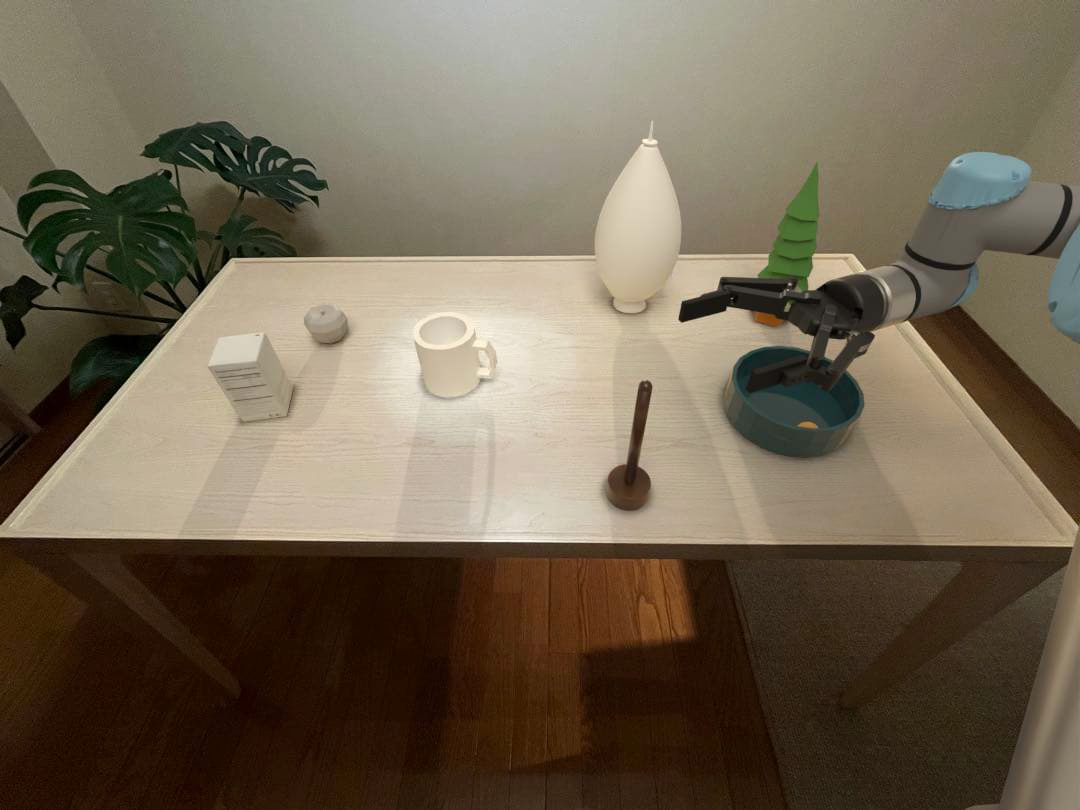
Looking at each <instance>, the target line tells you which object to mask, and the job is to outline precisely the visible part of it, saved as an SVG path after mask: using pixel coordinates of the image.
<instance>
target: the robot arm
mask: <svg viewBox="0 0 1080 810" xmlns="http://www.w3.org/2000/svg"><path fill="white" fill-rule="evenodd" d="M1031 176H1032V168H1031V167H1030V165H1029V164H1028V163H1027V162H1025V161H1024V160H1021V159H1019V158H1018V157H1014V156H1011V155H1004V154H1000V153H996V152H990V151H973V152H967V153H964V154H961V155H959V156H957V157H955V158H954V159H952V161H951V162H950V163H949V164H948V166H947V167H946V169H945V170H944V172H943V173H942V174H941V177H940V178H939V180H938V181H937V183H936V185H935V187H934V188H933V190H931V192H930V194H929V196H928V200H927V201H926V204H925V205H924V208H923V210H922V212H921V214H920V215H919V218H918V220H917V222H916V224H915V226H914V228H913V230H912V232H911V234H910V236H909V238H908V240H907V242H906V244H905V246H903V249H902V250H901V253H900V254H899V257H898V259H897V260H896V261H895V262H893V263H890V264H887V265H882V266H879V267H875V268H871V269H866V270H863V271H858V272H856V273H853V274H848V275H845V276H841V277H836V278H833V279H832V278H831V279H830V280H827V281H825V283H823V284H821V285H820V286H818V287H817V288H815V289H812V290H811V289H808V290H801V289H800V288H799V287H798V286H797V283H798V278H796V277H786V278H780V279H774V278H758V277H743V276H741V277H740V276H721V277H720V278H719V281H718V286H717V289H716V290H712V291H710V292H707V293H706V292H705V293H702V294H701V295H700V296H697V297H693V298H689V299H685V300H681V304H680V308H679V313H678V321H679V322H680V323H681V324H683V323H686V322H690V321H694V320H697V319H702V318H705V317H710V316H713V315H717V314H721V313H726V312H727V308H733V309H739V310H745V311H750V312H754V313H755V312H761V313H767V314H773V315H775V317H776V318H777V319H782V320H785V321H787V322H789V323H790V324H791V325H793V326H795V327H797V328H798V330H799V331H800V332H801V333H802V334H804V335H808V336H811V337H812V341H811V345H810V350H809V351H810V354H809V357H808V359H807V358H806V357H805V356H804V355H801V356H798V357H794V358H791V359H788V360H784V361H781V362H778V363H774V364H771V365H767V366H764V367H761V368H757V369H754V370H752V372H751V375H750V378H749V381H748V383H747V386H746V390H747V391H748V392H749V393H753V392H756V391H759V390H762V389H766V388H769V387H772V386H775V385H779V384H781V385H783V386H784V387H789V386H792V385H796V384H799V383H802V382H805V381H807V382H816V383H818V384H820V385H819V388H820V389H821V390H823V391H830V390H831V389H832V388H833V386H834V385H835V384H836V383H837V381H838V380H839V379H840V377H841V376H842V375H843V373H844V372H845V371H846V370H847V369H848V368H849V367H850V365H851V364H852V363H853V362H854V361H855V359H857V358H860V357H862V356H864V355H866V354H867V352H868V350H869V348H870V347H871V344H873V341H874V339H875V337H876V335H875V334H874V333H873V332H875V331H879V330H882V329H885V328H889V327H892V326H896V325H898V324H899V325H900V324H902V323H905V322H909V321H912V320H917V319H919V318H920V319H921V318H923V317H927V316H933V315H938V314H942V313H944V312H945V311H947V310H950V309H952V308H954V307H958V306H960V305H961V304H963V303H965V302H966V301H968V300H969V299H970V298H971V297H972V296H973V294H975V292H976V290H977V288H978V286H979V276H980V269H979V267H978V264H977V261H978V259H979V258H980V257H981V255H982V254H983V253H984V252H985V251H991V252H998V253H1007V254H1008V253H1009V254H1017V255H1023V256H1034V257H1041V258H1050V259H1054V260H1055V259H1056V260H1058V261H1057V262H1056V264H1055V267H1054V270H1053V273H1052V275H1051V279H1050V283H1049V287H1048V292H1047V308H1048V310H1049V312H1051V313H1052V314H1051V316H1050V322H1051V323H1052V325H1053V327H1054V328H1055V329H1056V330H1057V332H1060V334H1062V335H1063V336H1064V337H1067V338H1069V339H1070V340H1071V341H1072V342H1073V343H1074V342H1075V343H1077V344H1078V345H1080V185H1067V184H1060V183H1054V182H1052V183H1051V182H1041V181H1033V180H1032V181H1031V180H1030V178H1031ZM789 300H793V302H792V304H791V305H789V308H788V310H787V311H786V310H785V309H786V307H787V306H786V304H787V302H788V301H789ZM787 305H788V304H787ZM830 339H831V340H839V341H843V340H846V341H845V344H844V347H843V348H842V350H841V351H840V352H839V353H838V354H837V356H836V357H835V358H834V360H832V361H833V362H832V364H831V365H830V366H829V367H828V368H826V367H824V366H822V363H823V361H824V359H825V358H824V357H826V352H827V347H828V343H829V340H830ZM1075 535H1076V536H1075V539H1074V542H1073V545H1072V549H1071V553H1070V556H1069V558H1068V559H1069V560H1068V563H1067V567H1066V571H1065V573H1064V577H1063V581H1062V584H1061V587H1060V592H1059V594H1058V598H1057V602H1056V605H1055V609H1054V612H1053V616H1052V618H1051V623H1050V625H1049V630H1048V634H1047V636H1046V640H1045V643H1044V648H1043V650H1042V654H1041V656H1040V657H1041V658H1040V661H1039V665H1038V667H1037V671H1036V675H1035V679H1034V682H1033V685H1032V688H1031V693H1030V696H1029V700H1028V704H1027V707H1026V710H1025V714H1024V717H1023V721H1022V724H1021V728H1020V731H1019V735H1018V738H1017V740H1016V741H1017V742H1016V744H1015V749H1014V752H1013V755H1012V759H1011V762H1010V766H1009V770H1008V773H1007V776H1006V780H1005V784H1004V786H1003V791H1002V794H1001V798H1000V801H999V803H994V804H993V803H992V804H978V805H972V806H970V807H966V808H965V809H964V810H1080V523H1079V524H1078V528H1077V531H1076V534H1075Z"/></svg>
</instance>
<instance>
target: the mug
mask: <svg viewBox="0 0 1080 810" xmlns="http://www.w3.org/2000/svg"><path fill="white" fill-rule="evenodd" d="M412 337H413V341H414V345H415V350H416V354H417V358H418V362H419V366H420V370H421V374H422V378H423V384H424V387H425V388H426V390H427V391H428V392H429V393H430V394H433V395H434V396H435V397H441V398H447V399H449V398H457V397H462V396H464V395H467V394H468V393H471V392H472V391H474V390H475V389H476V388H477V387H478V385H479V384H480V383H481V380H482V379H489V380H493V376H494V375H495V374H494V373H495V372H496V367H497V364H498V356H497V352H496V349H495V348H494V347H493V345H492V344H491V342H490V341H489V340H486V339H485V340H484V339H477V333H476V326H475V324H474V321H473V320H472V319H471V318H470V317H469V316H467V315H465V314H462V313H459V312H455V311H441V312H437V313H432V314H430V315H428V316H425V317H423V318H422V319H420V320H419V321H418V322H417V323H416V325H415V326H414V327H413V330H412ZM479 351H481V352H484V353H485V354H486V356H487V358H488V361H489V366H490V367H482V366H481V363H480V355H479Z"/></svg>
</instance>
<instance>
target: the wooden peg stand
mask: <svg viewBox="0 0 1080 810" xmlns="http://www.w3.org/2000/svg"><path fill="white" fill-rule="evenodd" d="M637 387H638V388H637V394H636V400H635V406H634V413H633V418H632V426H631V431H630V436H629V443H628V451H627V457H626V462H625V463H624V464H619V465H617V466H615V467H613V468H612V470H610V471H609V474H608V477H607V483H606V497H607V499H608V501H609V502H610V503H611V505H613V506H614V507H615V508H616V509H617V508H618V509H619V510H622V511H627V512H629V511H631V512H632V511H636V510H640V509H641V508H642V507H644V506H645V505H646V504H647V502H648V501H649V495H650V491H651V487H652V480H651V478H650V475H649V474H648V473H647V471H646V470H645V469H643V468H642V467H640V466H639V465H640V464H639V463H640V458H641V453H642V448H643V442H644V435H645V430H646V425H647V420H648V415H649V409H650V404H651V398H652V393H653V383H652V382H651V380H648V379H643V380H641V381H640V382H639V383H638V386H637Z"/></svg>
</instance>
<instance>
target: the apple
mask: <svg viewBox="0 0 1080 810" xmlns="http://www.w3.org/2000/svg"><path fill="white" fill-rule="evenodd" d="M348 322H349V321H348V316H347V315H346V314H345V313H344V311H343V310H342V309H341V308H340V306H339V304H335V303H334V304H333V303H322V304H318V305H315V306H313V307H311V308H309V310H308V311H307V312H306V314H305V315H304V316H303V326H305V328H306V329H307V331H308V332H309V334H310V335H311V336H312V337H313V339H315V340H316V341H318V342H319V343H323V344H334V343H337V342H340V341H341V340H342V338H343V337H344V336H345V334H346V332H347V329H348V327H349V323H348Z"/></svg>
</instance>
